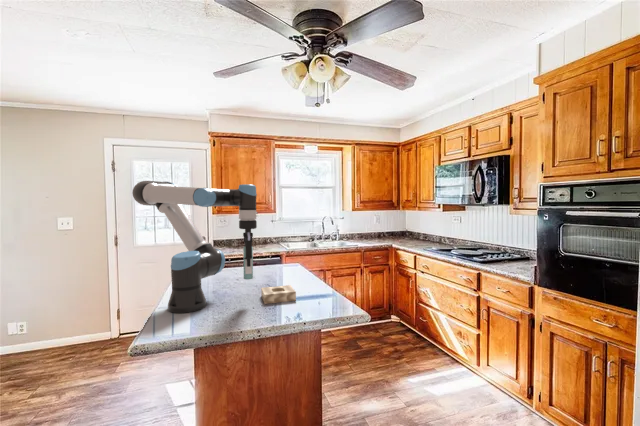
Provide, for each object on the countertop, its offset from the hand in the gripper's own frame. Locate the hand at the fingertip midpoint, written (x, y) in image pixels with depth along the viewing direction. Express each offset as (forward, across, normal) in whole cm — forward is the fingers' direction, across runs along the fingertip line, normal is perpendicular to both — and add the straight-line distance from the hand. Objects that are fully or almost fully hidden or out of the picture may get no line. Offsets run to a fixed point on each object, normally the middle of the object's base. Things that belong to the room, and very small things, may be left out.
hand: (248, 272), depth 140 cm
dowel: (+3, 0, 0) cm, 3 cm away
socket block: (+13, +2, -14) cm, 19 cm away
